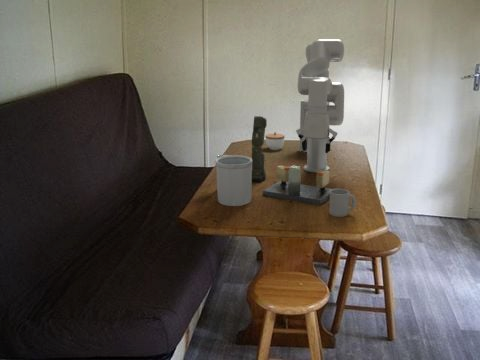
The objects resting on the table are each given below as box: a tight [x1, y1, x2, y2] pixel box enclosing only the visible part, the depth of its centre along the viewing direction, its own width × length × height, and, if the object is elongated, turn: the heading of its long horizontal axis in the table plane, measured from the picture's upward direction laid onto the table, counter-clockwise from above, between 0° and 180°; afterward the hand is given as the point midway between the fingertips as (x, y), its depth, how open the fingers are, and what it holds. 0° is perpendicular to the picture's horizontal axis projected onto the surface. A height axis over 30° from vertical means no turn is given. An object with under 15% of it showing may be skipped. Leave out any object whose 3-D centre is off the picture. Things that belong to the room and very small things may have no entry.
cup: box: [328, 188, 357, 218], centre depth 213 cm, size 7×10×9 cm
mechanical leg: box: [251, 115, 267, 184], centre depth 257 cm, size 14×7×30 cm, turn 168°
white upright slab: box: [299, 98, 330, 153], centre depth 307 cm, size 19×15×28 cm
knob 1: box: [276, 165, 291, 184], centre depth 243 cm, size 8×3×8 cm, turn 22°
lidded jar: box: [264, 131, 286, 151], centre depth 316 cm, size 11×11×9 cm
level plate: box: [262, 165, 333, 206], centre depth 235 cm, size 16×26×13 cm, turn 61°
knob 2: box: [315, 170, 331, 190], centre depth 234 cm, size 8×3×8 cm, turn 151°
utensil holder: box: [214, 154, 253, 207], centre depth 227 cm, size 15×15×18 cm
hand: (315, 151), depth 232 cm, fingers open, 9 cm apart
